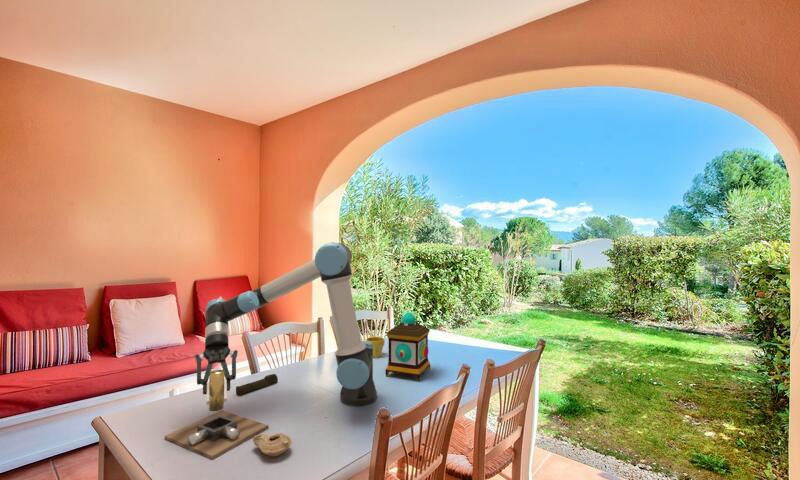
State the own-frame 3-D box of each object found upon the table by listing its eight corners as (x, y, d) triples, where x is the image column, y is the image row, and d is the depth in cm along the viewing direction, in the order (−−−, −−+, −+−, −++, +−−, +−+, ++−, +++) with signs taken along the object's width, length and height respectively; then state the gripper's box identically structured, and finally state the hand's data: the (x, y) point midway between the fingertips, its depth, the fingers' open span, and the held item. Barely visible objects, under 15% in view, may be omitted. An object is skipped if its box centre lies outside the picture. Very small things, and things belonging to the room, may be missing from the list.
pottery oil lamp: (263, 439, 119) (274, 418, 120) (287, 463, 113) (299, 441, 114) (243, 442, 111) (255, 420, 112) (267, 468, 105) (280, 444, 106)
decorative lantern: (381, 377, 176) (381, 314, 177) (397, 364, 195) (397, 307, 195) (421, 383, 169) (421, 317, 169) (433, 370, 187) (434, 310, 187)
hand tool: (239, 397, 153) (239, 386, 153) (235, 394, 155) (235, 383, 155) (280, 384, 167) (280, 374, 167) (276, 382, 170) (276, 372, 170)
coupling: (226, 407, 123) (227, 371, 123) (214, 412, 119) (215, 375, 119) (218, 404, 125) (218, 368, 125) (205, 409, 121) (206, 372, 121)
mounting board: (268, 428, 127) (268, 425, 127) (212, 459, 108) (212, 456, 108) (222, 412, 138) (222, 410, 138) (164, 439, 119) (164, 435, 119)
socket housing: (247, 433, 121) (247, 424, 121) (209, 454, 109) (209, 443, 109) (220, 424, 127) (220, 415, 127) (182, 442, 116) (182, 432, 116)
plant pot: (383, 359, 204) (383, 341, 204) (365, 358, 204) (365, 341, 204) (384, 353, 214) (384, 336, 214) (367, 353, 215) (367, 336, 215)
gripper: (242, 341, 140) (245, 401, 125) (189, 346, 132) (185, 411, 117) (243, 330, 135) (246, 391, 120) (188, 334, 127) (185, 401, 112)
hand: (216, 401), depth 119 cm, fingers closed on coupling, 4 cm apart
